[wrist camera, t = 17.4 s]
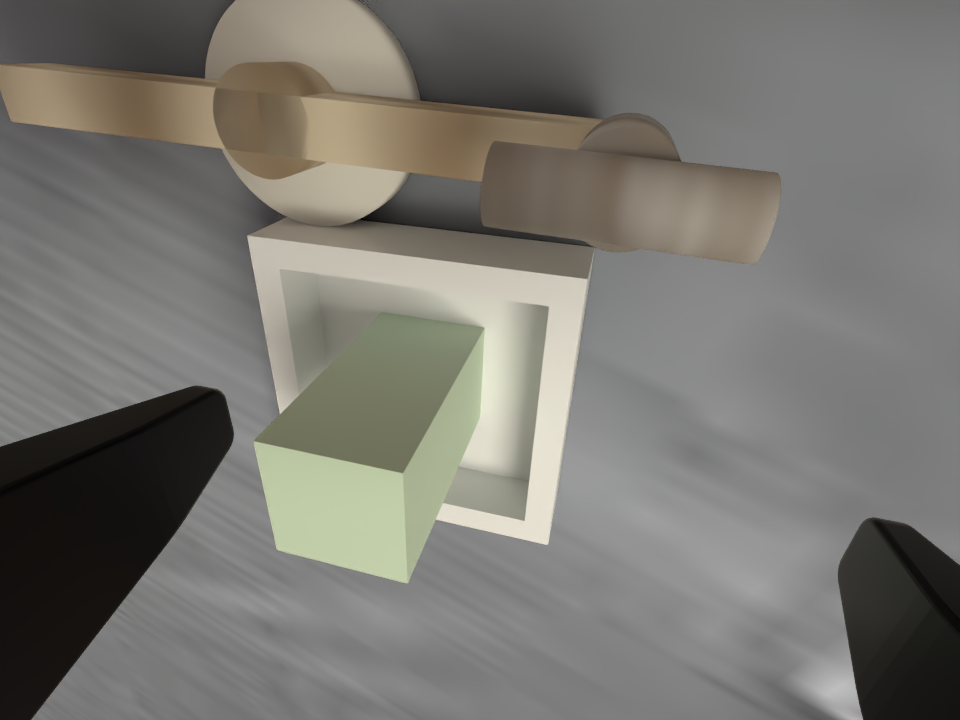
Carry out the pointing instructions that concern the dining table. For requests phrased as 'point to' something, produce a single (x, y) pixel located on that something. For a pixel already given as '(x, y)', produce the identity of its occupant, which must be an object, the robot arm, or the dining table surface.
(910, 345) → the dining table surface
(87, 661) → the dining table surface
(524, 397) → the tray
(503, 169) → the crank
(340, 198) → the crank housing
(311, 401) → the block
